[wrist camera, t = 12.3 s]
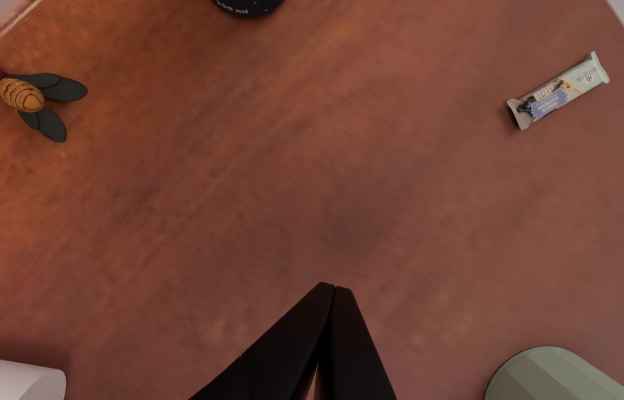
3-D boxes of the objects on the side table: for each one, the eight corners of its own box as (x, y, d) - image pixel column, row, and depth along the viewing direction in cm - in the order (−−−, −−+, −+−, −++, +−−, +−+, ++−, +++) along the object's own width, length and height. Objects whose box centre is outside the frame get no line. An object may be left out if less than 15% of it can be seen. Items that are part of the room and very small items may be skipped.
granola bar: (605, 45, 21) (621, 90, 21) (589, 53, 22) (604, 95, 23) (508, 86, 21) (524, 130, 21) (496, 91, 22) (512, 133, 22)
